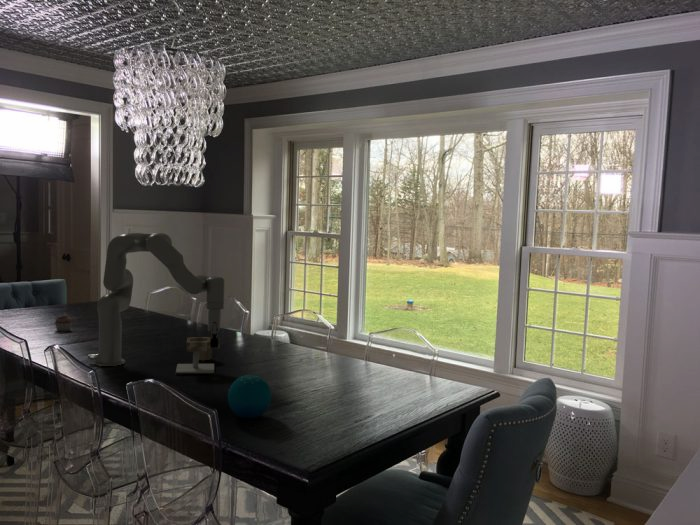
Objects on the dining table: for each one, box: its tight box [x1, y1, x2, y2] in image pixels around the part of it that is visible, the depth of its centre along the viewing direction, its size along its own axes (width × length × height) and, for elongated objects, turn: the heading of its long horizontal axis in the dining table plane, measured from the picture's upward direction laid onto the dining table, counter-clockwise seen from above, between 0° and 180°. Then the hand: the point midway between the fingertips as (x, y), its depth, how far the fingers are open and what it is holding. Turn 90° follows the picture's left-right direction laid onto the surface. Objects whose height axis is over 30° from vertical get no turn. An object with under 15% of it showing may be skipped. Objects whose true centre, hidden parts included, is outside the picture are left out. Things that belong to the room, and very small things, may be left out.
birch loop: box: [186, 336, 221, 353], centre depth 266 cm, size 14×10×4 cm
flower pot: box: [199, 349, 213, 361], centre depth 286 cm, size 9×9×9 cm
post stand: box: [175, 341, 215, 374], centre depth 266 cm, size 16×13×13 cm
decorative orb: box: [227, 374, 272, 419], centre depth 210 cm, size 15×15×15 cm
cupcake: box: [54, 312, 73, 333], centre depth 332 cm, size 9×9×10 cm
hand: (214, 345), depth 267 cm, fingers closed on birch loop, 3 cm apart
